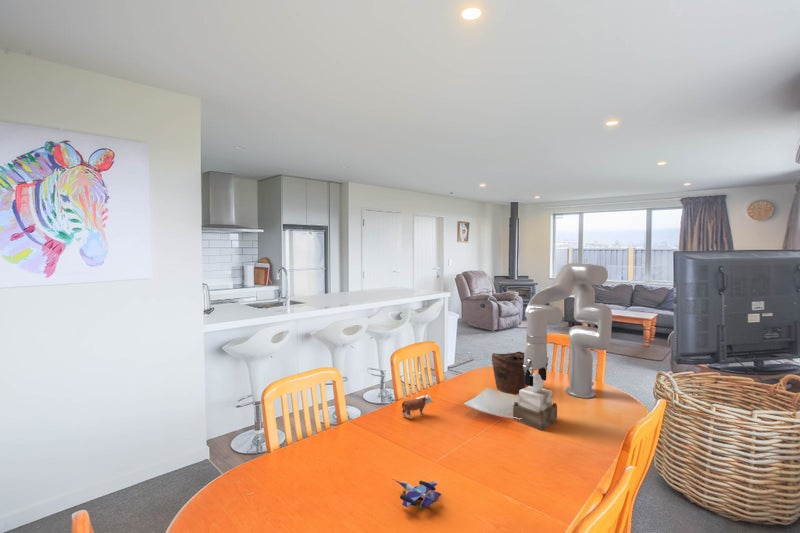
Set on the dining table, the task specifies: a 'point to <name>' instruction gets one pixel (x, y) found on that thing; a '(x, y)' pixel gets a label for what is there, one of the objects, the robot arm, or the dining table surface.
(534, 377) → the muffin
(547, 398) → the knobbed square box
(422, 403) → the bull figurine
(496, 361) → the brown plant pot
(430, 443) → the dining table surface
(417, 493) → the toy airplane
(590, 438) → the dining table surface
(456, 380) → the dining table surface
